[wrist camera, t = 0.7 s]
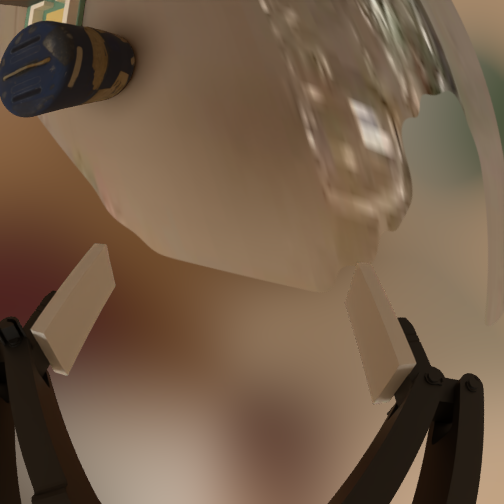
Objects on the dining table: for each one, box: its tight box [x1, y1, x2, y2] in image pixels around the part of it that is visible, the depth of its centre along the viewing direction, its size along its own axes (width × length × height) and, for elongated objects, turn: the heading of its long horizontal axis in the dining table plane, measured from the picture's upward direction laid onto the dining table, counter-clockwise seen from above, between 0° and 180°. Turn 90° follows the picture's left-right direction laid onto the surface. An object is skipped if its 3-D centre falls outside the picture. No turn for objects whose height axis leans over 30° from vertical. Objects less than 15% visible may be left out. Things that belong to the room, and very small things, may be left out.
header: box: [28, 0, 80, 26], centre depth 24 cm, size 8×8×2 cm
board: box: [24, 0, 85, 28], centre depth 24 cm, size 13×11×1 cm
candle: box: [0, 21, 135, 117], centre depth 23 cm, size 10×10×18 cm
